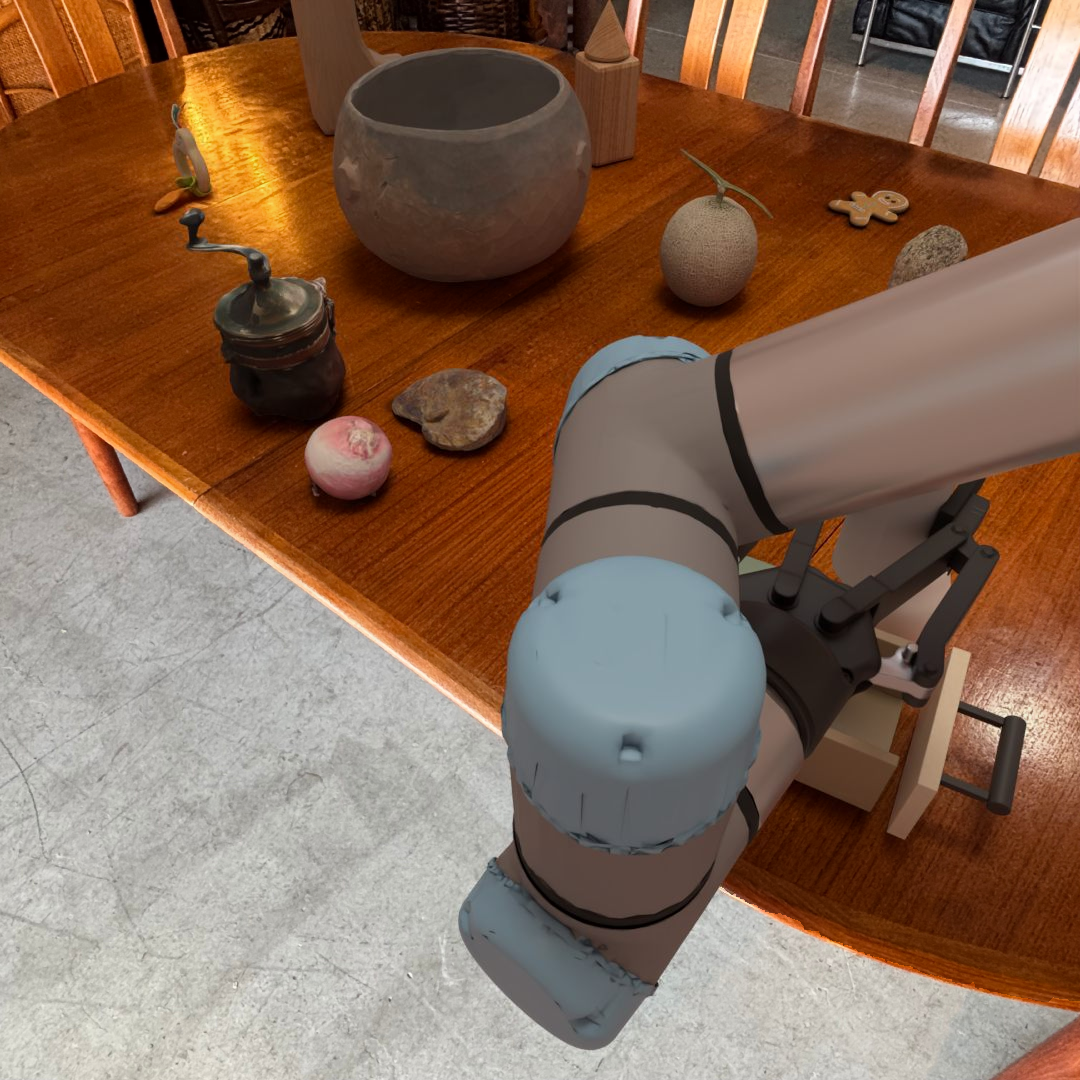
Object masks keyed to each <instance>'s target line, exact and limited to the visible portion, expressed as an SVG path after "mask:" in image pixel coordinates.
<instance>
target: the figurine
mask: <svg viewBox="0 0 1080 1080" xmlns="http://www.w3.org/2000/svg"><path fill="white" fill-rule="evenodd" d="M947 573H948V572H946V573H944V574H943V575H942V576H940V577H939V578H938V579H936V580H935V581H934V582H932V583H931V584H930V585H928V586H927V587H925V588H924V589H923V590H921V591H920V592H919V593H917V594H916V595H915V596H913V597H912V598H911V599H909V600H908V601H907V602H905V603H904V604H903V605H901V606H900V607H899V608H897V609H896V610H895V611H893V612H892V613H891V614H889V615H888V616H887V617H885V618H884V619H883V620H881V621H880V622H879V623H878V624H877V626H876V627H875V628H876V629H879V630H882V631H884V632H887V633H890V634H892V635H895V636H898V637H901V638H903V639H906V640H909V641H911V642H914V643H916V641H917V639H918V638H919V636H920V634H921V632H922V630H923V628H924V626H925V624H926V623H927V621H928V620H929V618H930V617H931V615H932V614H933V612H934V611H935V609H936V608H937V606H938V605H939V603H940V602H941V600H942V599H943V597H944V596H945V594H946V593H947V591H948V590H949V588H950V587H951V585H952V583H951V573H952V572H951V573H950V575H949V576H948V575H947Z"/></svg>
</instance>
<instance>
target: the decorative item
mask: <svg viewBox="0 0 1080 1080" xmlns="http://www.w3.org/2000/svg"><path fill="white" fill-rule="evenodd" d="M621 25H622V24H621V23H620V20H619V17H618V15H617V13H616V10H615V7H614V6H613V3H612V1H611V0H608V1H607V3H606V4H605V7H604V8H603V10H602V12H601V15H600V16H599V18H598V20H597V22H596V25H595V26H594V29H593V30H592V33H591V34H590V37H589V39H588V41H587V42H586V44H585V46H584V50H583V51H578V52H577V53H576V54H575V65H574V66H575V70H574V72H575V73H574V92H575V93H576V95H577V97H578V99H579V102H580V104H581V106H582V109H583V111H584V113H585V117H586V121H587V124H588V128H589V133H590V140H591V158H592V163H591V166H594V167H601V166H604V165H608V164H611V163H617V162H621V161H624V160H629V159H631V158H633V157H634V154H635V139H636V129H637V128H636V126H637V113H638V100H639V99H638V98H639V84H640V73H641V72H640V71H641V62H640V60H639V59H640V58H638V57H636V56H635V55H633V54H631V48H630V45H629V43H628V40H627V38H626V35H625V33H624V30H623V28H622V26H621Z"/></svg>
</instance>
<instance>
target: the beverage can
mask: <svg viewBox="0 0 1080 1080" xmlns="http://www.w3.org/2000/svg"><path fill="white" fill-rule="evenodd" d="M955 489H956V486H952V487H948V488H945V489H941V490H937V491H933V492H930V493H926V494H922V495H919V496H915V497H911V498H907V499H904V500H900V501H896V502H892V503H889V504H885V505H881V506H878V507H874V508H870V509H866V510H863V511H859V512H855V513H852V514H848V515H845V517H844V520H843V523H842V525H841V529H840V532H839V534H838V537H837V540H836V543H835V545H834V549H833V552H832V555H831V566H832V568H833V571H834V573H835V575H836V576H837V578H838V579H839V580H840V582H841V583H844V584H847V585H849V586H851V587H854V586H855V585H857V584H858V583H860V582H861V581H862V580H864V579H865V578H867V577H868V576H870V575H872V576H873V577H874V576H876V575H877V574H879V573H880V572H882V571H883V570H884V569H886V568H887V567H889V566H890V565H891V564H893V563H894V562H896V561H897V560H898V559H900V558H901V557H903V556H904V555H905V554H907V553H908V552H910V551H911V550H912V549H914V548H915V547H917V546H918V545H919V544H921V543H922V542H924V541H925V540H926V539H927V538H928V536H929V534H930V532H931V530H932V527H933V525H934V523H935V521H936V519H937V516H938V514H939V512H940V510H941V509H942V507H943V506H944V504H945V503H946V502H947V500H948V499H949V497H950V496H951V495H952V493H953V492H954V490H955Z"/></svg>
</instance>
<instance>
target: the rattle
mask: <svg viewBox="0 0 1080 1080" xmlns="http://www.w3.org/2000/svg"><path fill="white" fill-rule="evenodd" d="M186 104H187V100H185V101H184V103H182V105H181V107H179V105H178V104H177V103H174V104H172V107H171V112H170V113H171V119H172V123H173V125H174V128H175V133H174V140H173V142H172V155H173V160H174V164H175V166H176V169H177V172H178V174H179V177H177V178H175V180H174V183H175V184H176V185H177V187H178V189H176V190H172V191H170V192H168V193H166V194H165V195H164V196H163V197H161V198H160V199H158V201H157V202H156V203H155V205H154V208H153V210H154V211H155V212H157V213H159V212H163V211H165V210H167V209H169V208H170V207H172V206H173V205H175V203H176V202H177V201H178V200H179V199H180V198H181V197H182V195H183V194H184V193H192V194H193V195H194V196H196V197H199V198H204V197H206V196H208V195H209V194H210V193H212V191H213V185H212V183H211V176H210V172H209V168H208V166H207V163H206V161H205V159H204V157H203V155H202V153H201V151H200V149H199V147H198V144H197V142H196V139H195V137H194V135H193V133H192V131H190V129H189V128H187V127H185V126H182V124H181V123H180V121H179V119H180V117H179V116H180V113H181V112H182V109H183V108H184V107H185V106H186ZM188 160H189V161H190V163H191V165H192V167H193V170H194V173H195V174H194V173H193V171H192V169H191V167H190V164H189V161H188Z"/></svg>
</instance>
